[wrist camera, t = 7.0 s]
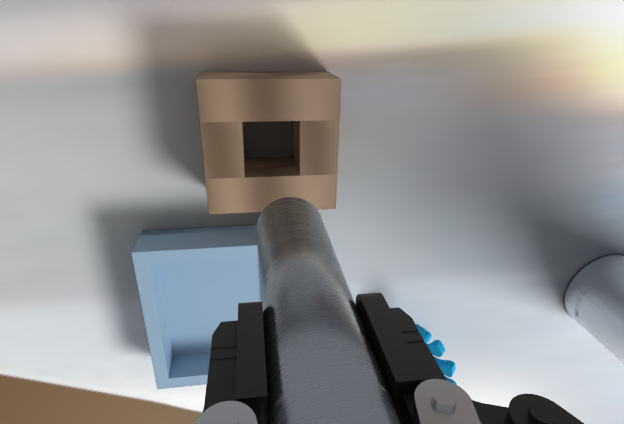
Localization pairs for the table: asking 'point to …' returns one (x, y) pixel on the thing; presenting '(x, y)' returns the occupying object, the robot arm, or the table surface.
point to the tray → (192, 293)
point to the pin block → (269, 107)
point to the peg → (313, 326)
